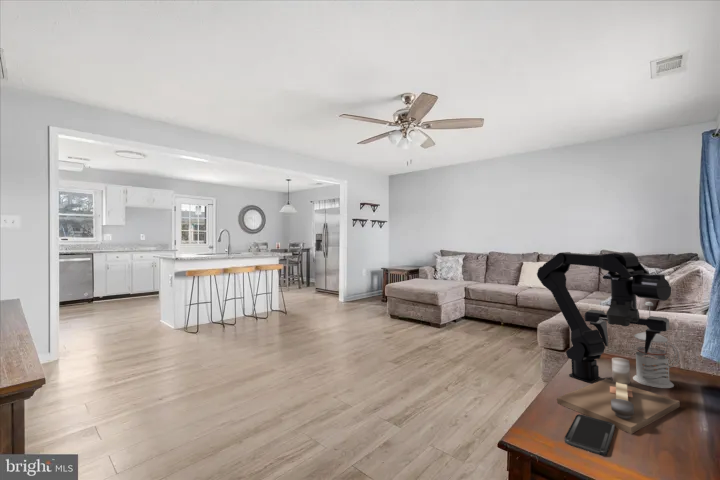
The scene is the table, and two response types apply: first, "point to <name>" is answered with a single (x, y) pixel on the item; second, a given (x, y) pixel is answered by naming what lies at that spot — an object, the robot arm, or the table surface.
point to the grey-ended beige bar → (621, 387)
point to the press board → (601, 393)
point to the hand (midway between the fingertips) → (625, 349)
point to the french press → (653, 362)
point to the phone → (590, 434)
